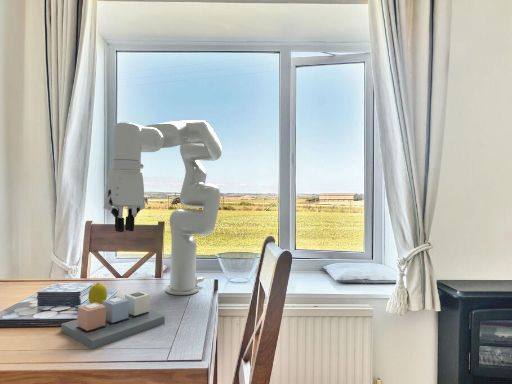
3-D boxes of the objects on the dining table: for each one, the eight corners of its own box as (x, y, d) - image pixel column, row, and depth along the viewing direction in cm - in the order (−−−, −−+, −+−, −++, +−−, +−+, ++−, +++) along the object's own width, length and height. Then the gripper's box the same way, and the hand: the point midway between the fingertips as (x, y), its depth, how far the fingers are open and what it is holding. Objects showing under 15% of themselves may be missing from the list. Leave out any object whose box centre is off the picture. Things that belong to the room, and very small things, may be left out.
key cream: (138, 307, 108) (139, 290, 108) (148, 311, 105) (149, 294, 105) (124, 311, 104) (124, 294, 104) (134, 315, 101) (135, 297, 101)
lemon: (99, 311, 111) (100, 286, 111) (84, 309, 112) (85, 284, 112) (110, 305, 116) (111, 281, 116) (95, 303, 117) (96, 280, 117)
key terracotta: (95, 320, 97) (95, 301, 97) (105, 325, 94) (106, 305, 94) (77, 325, 93) (77, 306, 93) (87, 330, 90) (87, 310, 90)
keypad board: (132, 309, 113) (132, 303, 113) (164, 322, 103) (164, 316, 103) (61, 331, 95) (61, 323, 95) (92, 348, 86) (92, 340, 86)
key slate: (118, 313, 103) (118, 295, 103) (128, 317, 100) (128, 299, 100) (102, 318, 99) (102, 299, 99) (112, 322, 96) (112, 303, 96)
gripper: (142, 168, 109) (140, 227, 109) (92, 164, 96) (90, 232, 96) (158, 168, 105) (155, 230, 105) (107, 164, 91) (105, 235, 92)
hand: (124, 230), depth 100 cm, fingers open, 2 cm apart
